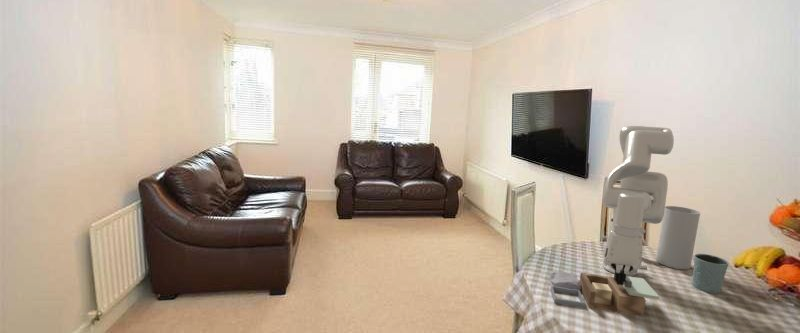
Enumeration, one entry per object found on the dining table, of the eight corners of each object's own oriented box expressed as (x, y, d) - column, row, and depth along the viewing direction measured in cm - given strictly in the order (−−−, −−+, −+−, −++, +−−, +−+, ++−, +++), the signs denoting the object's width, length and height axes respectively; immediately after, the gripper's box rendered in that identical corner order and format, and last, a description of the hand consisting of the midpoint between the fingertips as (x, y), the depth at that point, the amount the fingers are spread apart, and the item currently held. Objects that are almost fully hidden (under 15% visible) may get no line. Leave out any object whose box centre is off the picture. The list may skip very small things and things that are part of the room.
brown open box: (626, 296, 134) (629, 279, 133) (642, 318, 119) (645, 299, 118) (578, 289, 137) (580, 272, 136) (588, 310, 123) (590, 291, 122)
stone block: (553, 296, 136) (583, 295, 133) (552, 283, 135) (582, 282, 133) (548, 282, 147) (575, 281, 145) (547, 270, 147) (574, 269, 144)
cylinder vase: (658, 256, 175) (667, 204, 171) (692, 265, 166) (701, 210, 163) (653, 263, 166) (661, 208, 162) (687, 272, 158) (698, 215, 154)
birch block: (605, 298, 130) (607, 284, 129) (610, 305, 125) (612, 291, 124) (590, 295, 131) (592, 282, 130) (593, 302, 126) (595, 288, 125)
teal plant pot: (719, 286, 146) (724, 257, 144) (726, 297, 137) (732, 266, 135) (686, 279, 151) (692, 251, 149) (692, 290, 142) (697, 260, 140)
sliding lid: (642, 281, 132) (644, 273, 131) (659, 299, 119) (660, 290, 118) (616, 277, 134) (617, 269, 133) (629, 295, 121) (630, 286, 120)
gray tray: (578, 296, 132) (579, 290, 131) (584, 310, 123) (585, 303, 122) (549, 292, 134) (550, 285, 134) (553, 305, 125) (554, 298, 124)
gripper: (647, 230, 125) (639, 281, 128) (598, 224, 128) (591, 275, 131) (657, 237, 118) (648, 292, 120) (605, 231, 121) (597, 284, 124)
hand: (618, 283), depth 126 cm, fingers closed
